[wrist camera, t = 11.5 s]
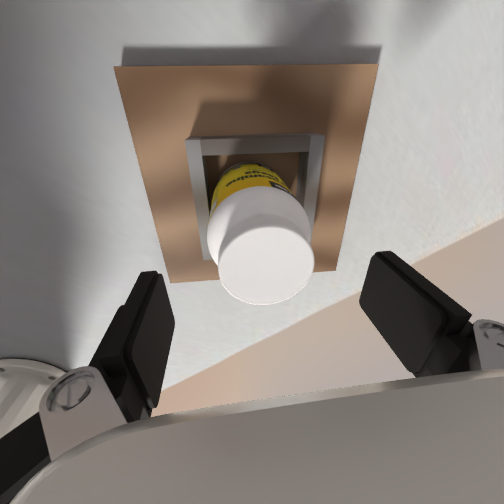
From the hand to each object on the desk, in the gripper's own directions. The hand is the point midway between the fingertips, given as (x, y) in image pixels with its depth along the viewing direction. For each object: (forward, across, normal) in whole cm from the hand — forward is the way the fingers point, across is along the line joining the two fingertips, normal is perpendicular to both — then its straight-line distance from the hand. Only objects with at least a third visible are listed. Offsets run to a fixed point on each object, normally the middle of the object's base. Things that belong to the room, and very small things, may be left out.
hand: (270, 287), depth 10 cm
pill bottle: (+12, 0, 0) cm, 12 cm away
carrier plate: (+13, -1, -1) cm, 13 cm away
